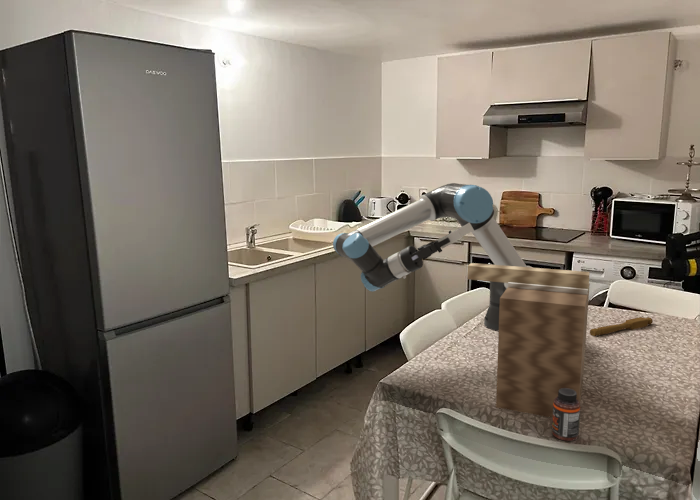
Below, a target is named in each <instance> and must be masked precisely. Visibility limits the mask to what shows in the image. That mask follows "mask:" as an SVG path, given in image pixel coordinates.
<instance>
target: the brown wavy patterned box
mask: <svg viewBox="0 0 700 500" xmlns="http://www.w3.org/2000/svg"><path fill="white" fill-rule="evenodd" d="M590 285H591V284H590V282H589V287H588V289H581V288H570V287H558V286H547V285H536V284H525V283H513V282H508V288H507V289H506V290H505V292H504V293H503V294H502V296H501V297H500V307H499V331H498V341H497V364H496V365H497V367H496V371H497V372H496V395H495V396H496V397H495V408H498V409H502V410H503V409H504V410H508V411H514V412H519V413H524V414H528V415H529V414H530V415H535V416H541V417H547V418H552V419H553V402H554V399H555V398H556V397H557V396H558V392H559V389H561V388H569V389H572V390H574V391H576V393H577V398H576V399H577V400H578V401H579V402H580V403H581V399H582V393H583V385H584V376H585V375H584V373H585V360H586V359H585V357H586V342H587V331H588V330H587V329H588V313H589V312H588V311H589V299H590V298H589V297H590Z"/></svg>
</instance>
